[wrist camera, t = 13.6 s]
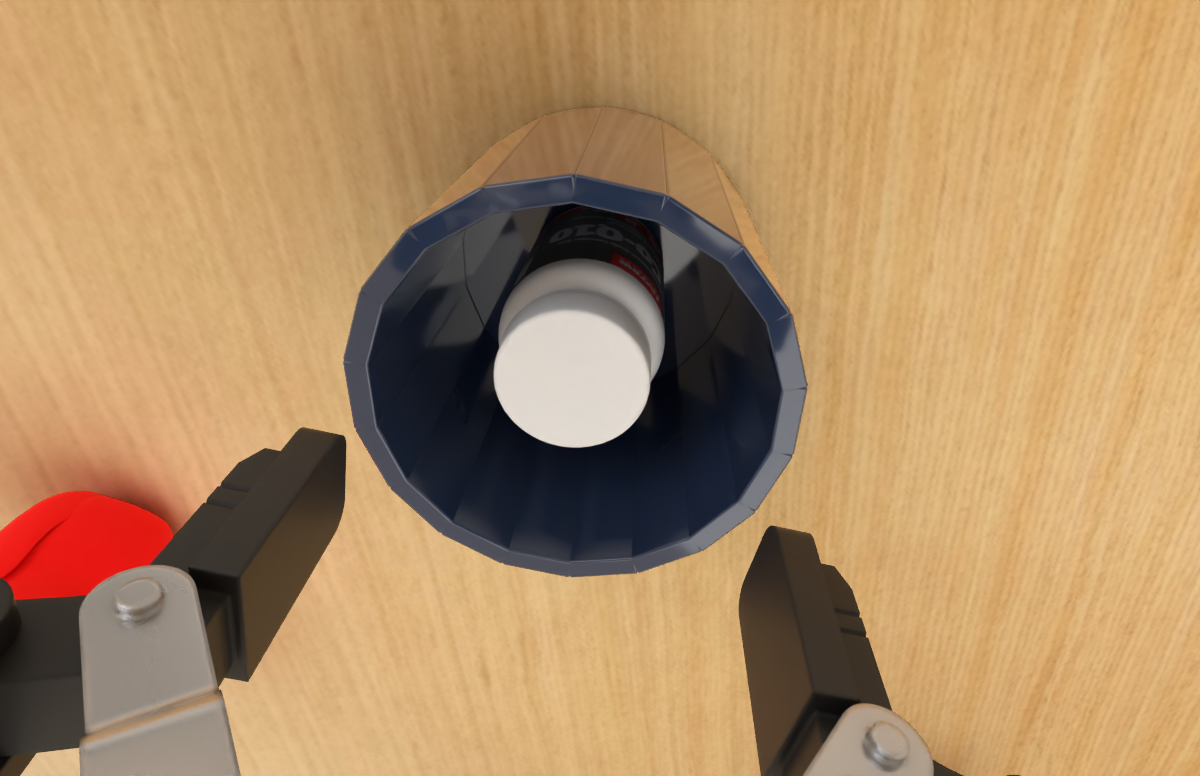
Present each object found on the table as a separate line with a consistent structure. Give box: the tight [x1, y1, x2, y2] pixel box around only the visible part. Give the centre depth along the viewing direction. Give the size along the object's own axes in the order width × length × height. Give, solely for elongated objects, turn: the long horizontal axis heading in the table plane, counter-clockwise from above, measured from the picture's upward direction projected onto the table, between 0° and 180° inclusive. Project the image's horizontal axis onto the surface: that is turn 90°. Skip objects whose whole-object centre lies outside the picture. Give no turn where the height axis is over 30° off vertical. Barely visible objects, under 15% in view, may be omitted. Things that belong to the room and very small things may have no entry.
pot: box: [343, 107, 808, 577], centre depth 21 cm, size 11×11×10 cm
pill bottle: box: [494, 206, 665, 447], centre depth 21 cm, size 5×5×8 cm
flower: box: [0, 491, 173, 600], centre depth 30 cm, size 8×8×8 cm
